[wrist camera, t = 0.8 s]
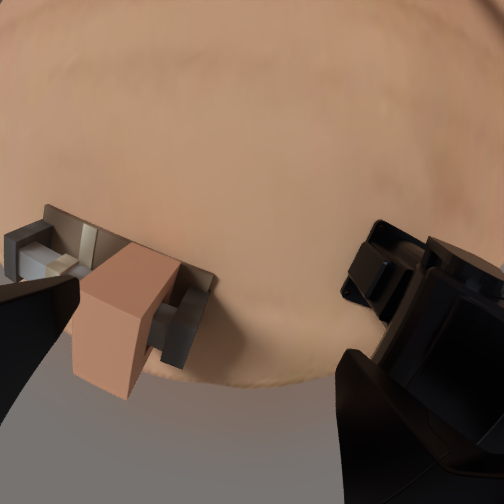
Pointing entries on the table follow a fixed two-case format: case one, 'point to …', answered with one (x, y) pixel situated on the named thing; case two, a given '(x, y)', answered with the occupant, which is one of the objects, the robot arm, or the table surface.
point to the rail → (92, 256)
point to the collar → (119, 317)
